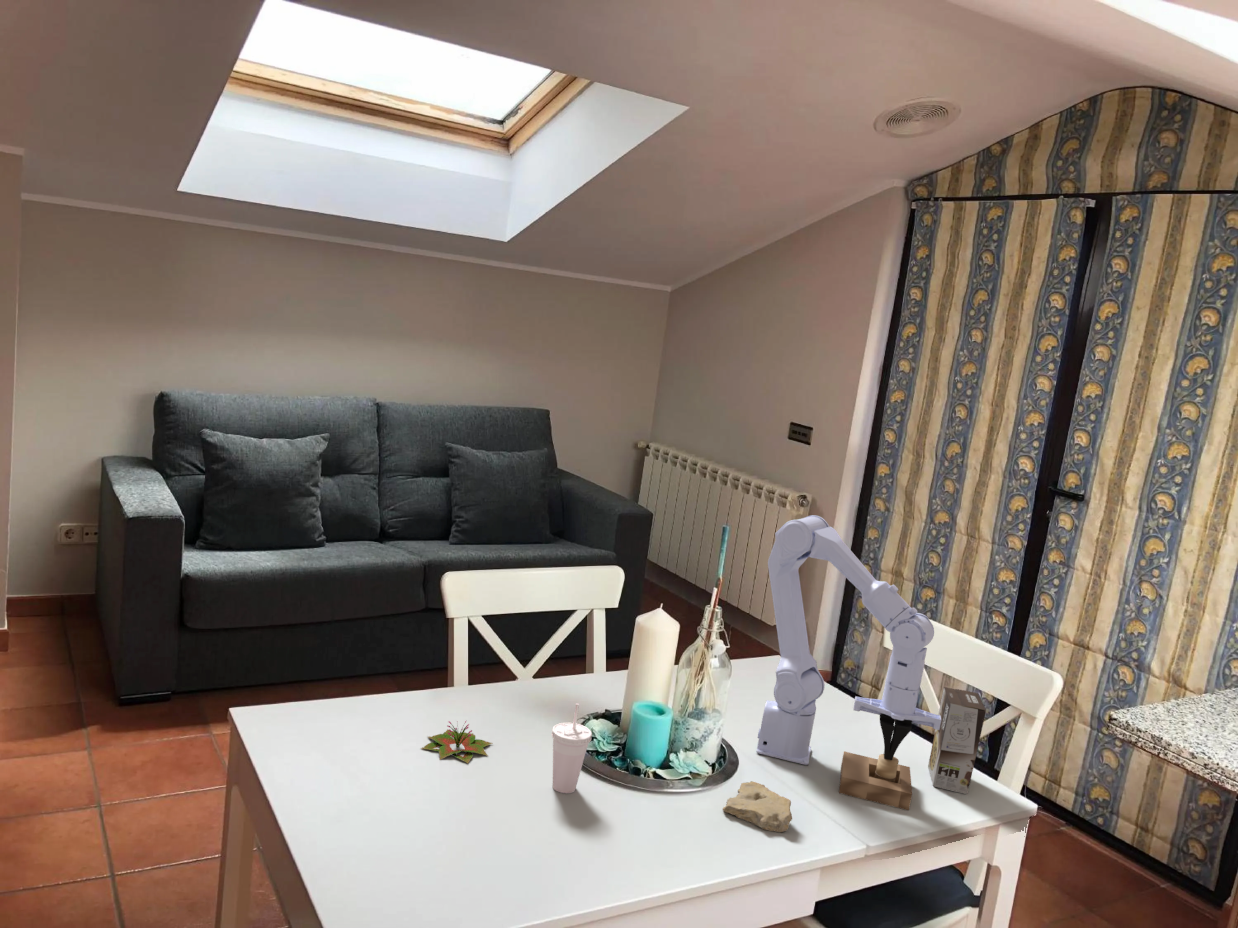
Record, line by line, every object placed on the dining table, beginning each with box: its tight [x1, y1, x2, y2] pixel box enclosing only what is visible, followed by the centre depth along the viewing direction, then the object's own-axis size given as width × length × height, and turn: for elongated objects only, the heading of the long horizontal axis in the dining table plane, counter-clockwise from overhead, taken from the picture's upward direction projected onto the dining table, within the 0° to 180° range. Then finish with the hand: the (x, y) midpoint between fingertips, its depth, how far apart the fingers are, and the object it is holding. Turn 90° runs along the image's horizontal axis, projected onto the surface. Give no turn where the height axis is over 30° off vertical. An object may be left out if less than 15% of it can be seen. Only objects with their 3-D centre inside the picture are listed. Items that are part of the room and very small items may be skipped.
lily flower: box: [420, 720, 493, 764], centre depth 165 cm, size 12×12×5 cm
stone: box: [722, 781, 793, 833], centre depth 157 cm, size 13×4×10 cm
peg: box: [875, 753, 899, 783], centre depth 171 cm, size 4×4×6 cm
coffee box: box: [927, 686, 987, 795], centre depth 179 cm, size 9×6×16 cm
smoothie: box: [551, 702, 593, 794], centre depth 155 cm, size 6×6×14 cm
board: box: [838, 751, 913, 811], centre depth 172 cm, size 12×11×3 cm
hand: (887, 757), depth 171 cm, fingers closed
